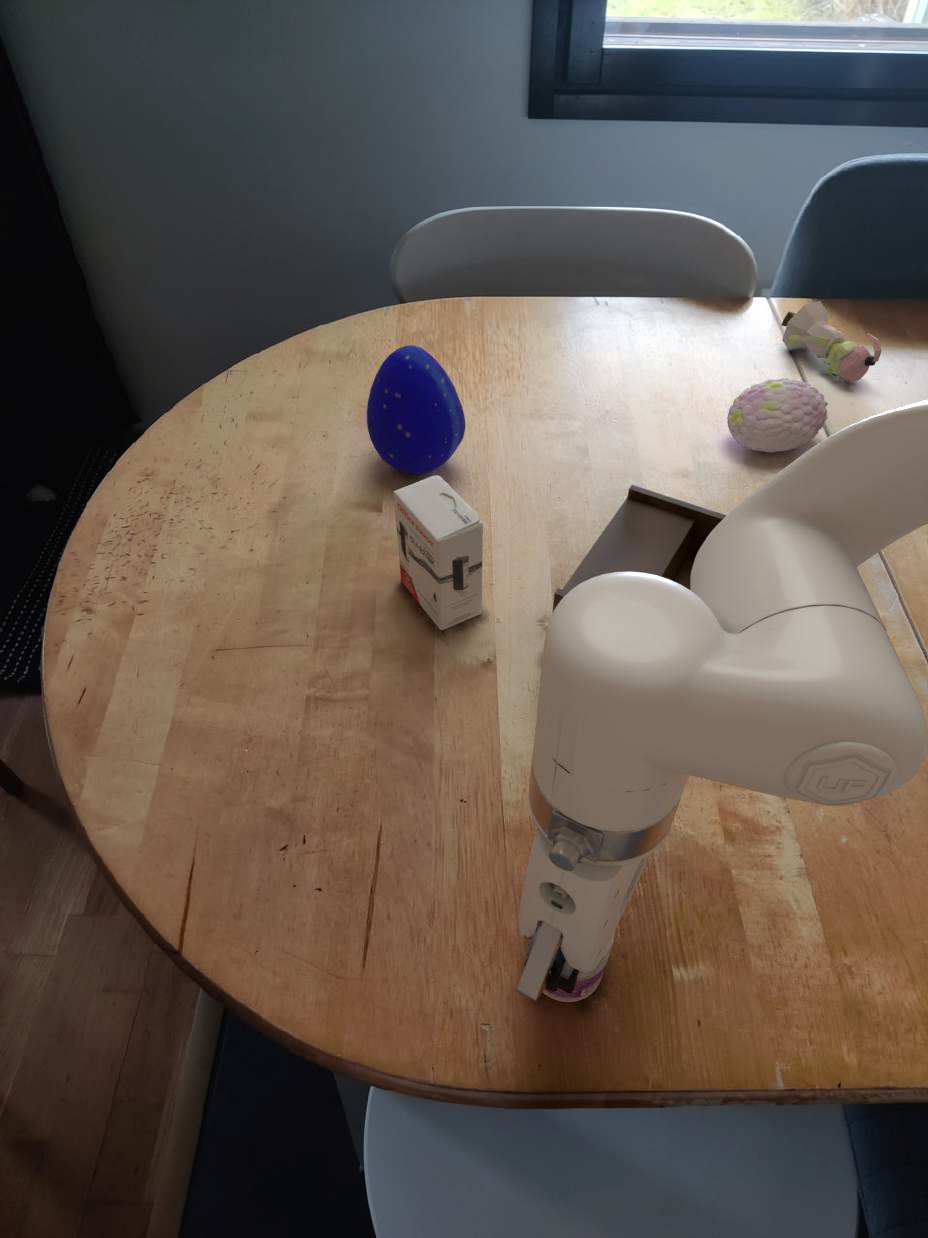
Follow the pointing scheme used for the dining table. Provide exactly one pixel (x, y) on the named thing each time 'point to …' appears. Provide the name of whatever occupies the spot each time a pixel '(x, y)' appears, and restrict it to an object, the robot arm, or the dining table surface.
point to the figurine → (828, 342)
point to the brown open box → (648, 540)
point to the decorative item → (777, 415)
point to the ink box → (440, 550)
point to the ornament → (414, 412)
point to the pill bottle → (583, 981)
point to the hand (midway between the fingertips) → (571, 936)
